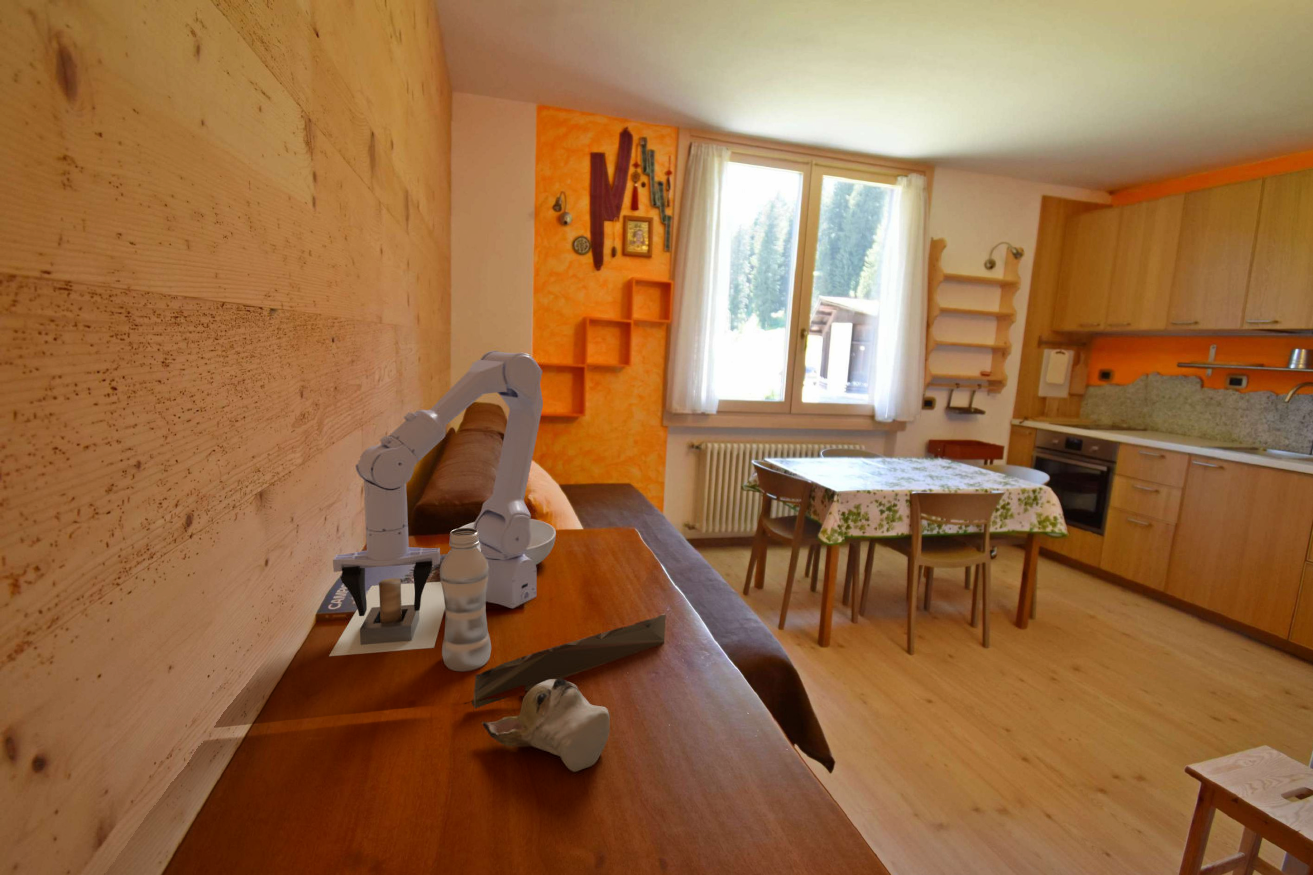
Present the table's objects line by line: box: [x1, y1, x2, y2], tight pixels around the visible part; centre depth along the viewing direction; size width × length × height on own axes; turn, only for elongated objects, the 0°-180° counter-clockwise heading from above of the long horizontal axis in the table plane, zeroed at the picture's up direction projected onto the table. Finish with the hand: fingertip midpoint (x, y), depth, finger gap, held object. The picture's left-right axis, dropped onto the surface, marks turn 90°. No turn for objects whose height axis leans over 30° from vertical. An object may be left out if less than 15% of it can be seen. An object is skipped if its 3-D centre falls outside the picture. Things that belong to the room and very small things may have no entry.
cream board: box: [328, 581, 445, 657], centre depth 94 cm, size 24×14×1 cm, turn 13°
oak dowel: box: [378, 577, 402, 623], centre depth 88 cm, size 3×3×8 cm
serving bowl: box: [459, 518, 557, 566], centre depth 118 cm, size 21×21×7 cm
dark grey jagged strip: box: [471, 613, 666, 709], centre depth 81 cm, size 30×1×5 cm, turn 126°
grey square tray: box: [360, 605, 420, 645], centre depth 88 cm, size 7×7×2 cm
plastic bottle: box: [438, 527, 492, 672], centre depth 80 cm, size 6×7×20 cm
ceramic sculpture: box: [481, 678, 611, 773], centre depth 66 cm, size 11×9×15 cm
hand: (390, 610), depth 88 cm, fingers open, 7 cm apart
